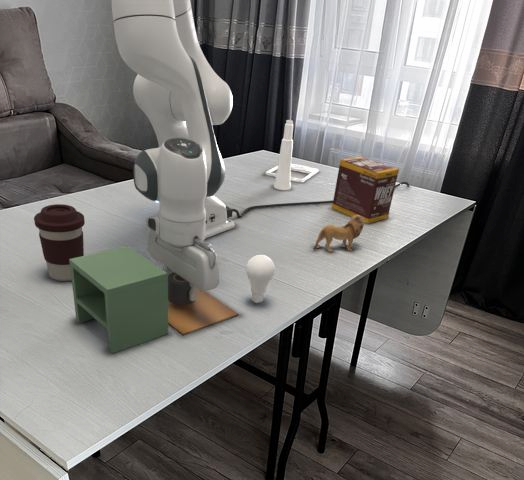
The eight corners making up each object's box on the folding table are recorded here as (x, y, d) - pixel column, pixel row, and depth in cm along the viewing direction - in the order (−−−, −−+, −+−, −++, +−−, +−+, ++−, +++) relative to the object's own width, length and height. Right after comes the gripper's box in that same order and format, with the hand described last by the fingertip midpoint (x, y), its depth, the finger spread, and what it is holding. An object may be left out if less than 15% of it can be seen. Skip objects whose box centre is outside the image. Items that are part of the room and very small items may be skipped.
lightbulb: (242, 295, 120) (246, 249, 114) (269, 296, 121) (274, 250, 115) (244, 308, 115) (248, 261, 109) (272, 310, 116) (277, 263, 110)
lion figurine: (353, 242, 152) (359, 211, 147) (363, 250, 148) (370, 218, 143) (308, 247, 146) (312, 215, 141) (318, 255, 142) (323, 222, 137)
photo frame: (318, 168, 208) (302, 179, 194) (318, 171, 209) (302, 182, 195) (283, 161, 212) (265, 171, 198) (283, 164, 213) (265, 174, 199)
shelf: (130, 303, 113) (127, 245, 105) (168, 333, 104) (167, 273, 97) (76, 320, 105) (69, 259, 98) (112, 353, 97) (107, 289, 90)
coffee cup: (64, 289, 115) (55, 221, 107) (32, 275, 119) (22, 209, 111) (99, 274, 122) (93, 209, 114) (68, 261, 126) (60, 198, 118)
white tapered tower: (274, 184, 191) (281, 117, 178) (291, 186, 190) (299, 120, 178) (272, 189, 186) (279, 121, 173) (289, 191, 185) (298, 123, 173)
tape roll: (185, 289, 117) (185, 268, 114) (201, 300, 113) (202, 279, 111) (161, 295, 113) (161, 275, 111) (178, 308, 110) (178, 286, 107)
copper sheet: (182, 278, 124) (182, 276, 124) (238, 315, 113) (238, 313, 112) (129, 293, 116) (129, 292, 116) (182, 335, 104) (182, 333, 104)
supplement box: (368, 224, 165) (378, 172, 157) (331, 208, 174) (339, 159, 166) (388, 218, 171) (400, 168, 163) (352, 203, 180) (361, 155, 172)
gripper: (228, 244, 101) (224, 308, 108) (167, 210, 113) (167, 270, 120) (201, 251, 97) (199, 317, 105) (141, 215, 109) (143, 276, 117)
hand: (182, 292), depth 113 cm, fingers closed on tape roll, 6 cm apart
